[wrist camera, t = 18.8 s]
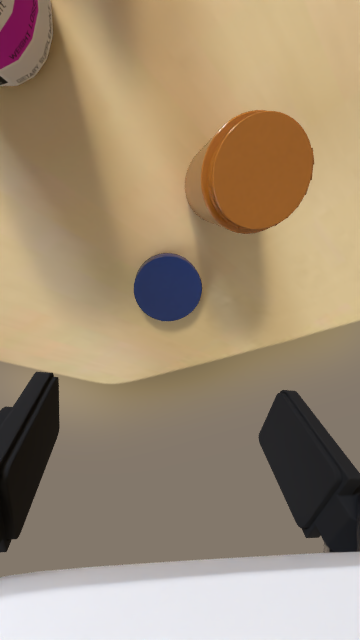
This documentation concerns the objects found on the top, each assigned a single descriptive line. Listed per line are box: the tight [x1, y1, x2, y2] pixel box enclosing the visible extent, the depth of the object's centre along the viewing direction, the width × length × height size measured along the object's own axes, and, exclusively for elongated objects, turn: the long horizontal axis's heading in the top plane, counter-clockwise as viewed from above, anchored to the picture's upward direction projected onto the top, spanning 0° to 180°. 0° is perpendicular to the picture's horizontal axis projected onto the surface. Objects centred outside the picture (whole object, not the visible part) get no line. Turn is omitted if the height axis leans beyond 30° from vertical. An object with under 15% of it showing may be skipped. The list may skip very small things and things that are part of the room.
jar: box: [185, 110, 314, 234], centre depth 18 cm, size 6×6×10 cm
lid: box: [134, 253, 202, 321], centre depth 25 cm, size 7×7×2 cm
